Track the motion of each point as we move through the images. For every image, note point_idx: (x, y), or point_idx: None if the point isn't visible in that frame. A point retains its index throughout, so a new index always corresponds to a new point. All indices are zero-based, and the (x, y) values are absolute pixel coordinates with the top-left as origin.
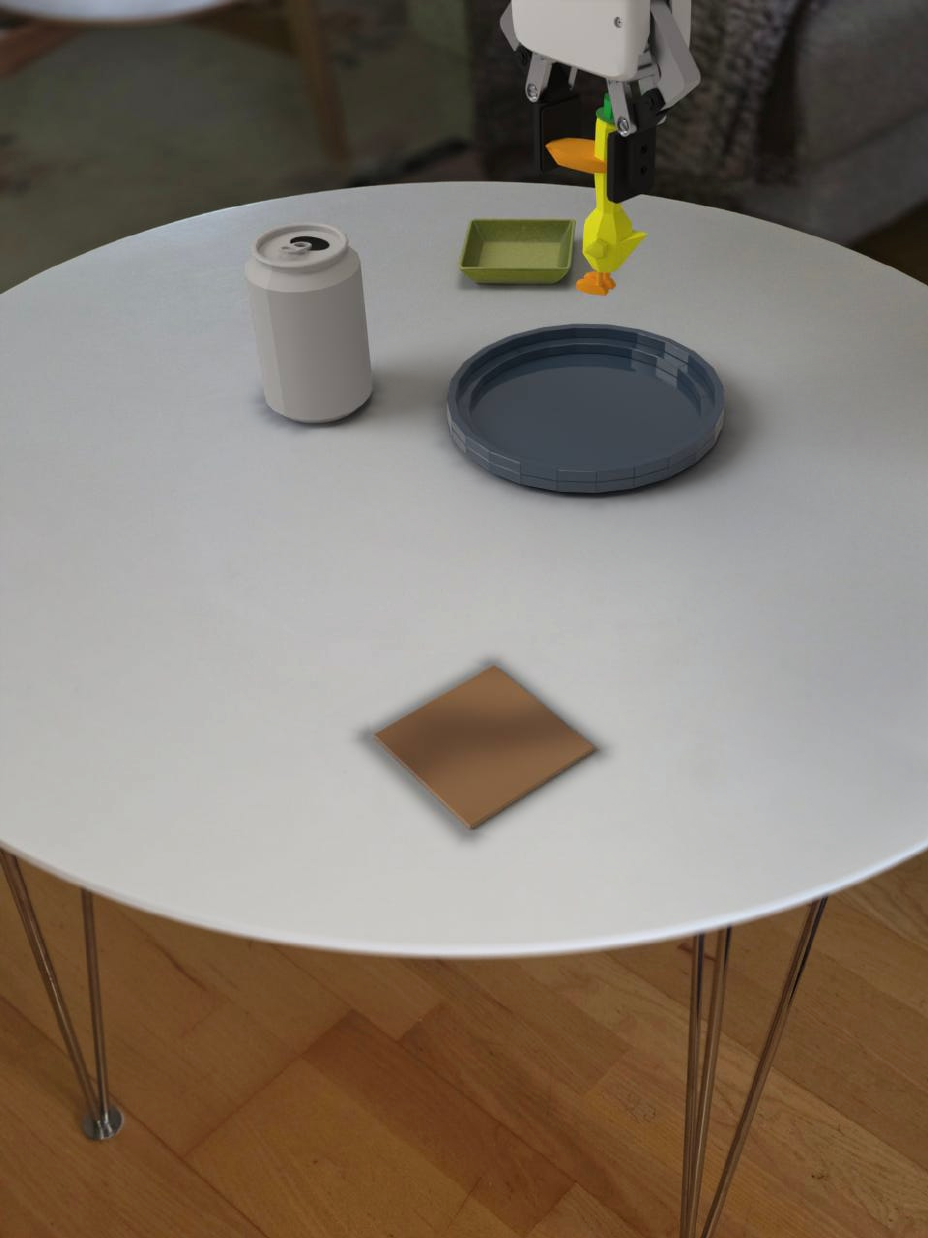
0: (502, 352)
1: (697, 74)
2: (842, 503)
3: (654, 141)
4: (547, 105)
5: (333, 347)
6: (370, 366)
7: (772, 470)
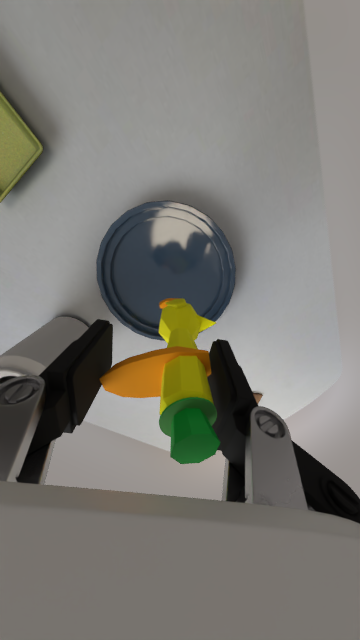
0: (103, 270)
1: None
2: (296, 263)
3: (254, 397)
4: (72, 421)
5: None
6: (78, 328)
7: (260, 260)
